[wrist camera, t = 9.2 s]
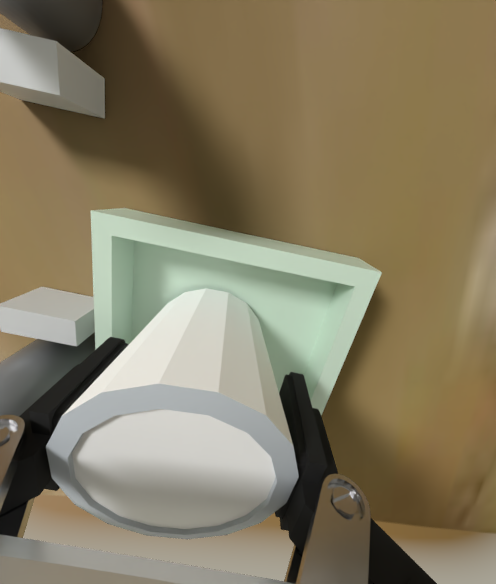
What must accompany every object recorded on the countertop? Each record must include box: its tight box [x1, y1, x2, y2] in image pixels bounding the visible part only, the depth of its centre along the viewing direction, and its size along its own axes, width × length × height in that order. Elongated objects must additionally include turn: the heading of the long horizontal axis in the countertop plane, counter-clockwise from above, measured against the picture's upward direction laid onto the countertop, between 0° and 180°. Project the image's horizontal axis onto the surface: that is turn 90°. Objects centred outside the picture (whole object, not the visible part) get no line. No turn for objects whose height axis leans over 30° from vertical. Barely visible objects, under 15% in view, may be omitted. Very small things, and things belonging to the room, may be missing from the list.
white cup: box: [46, 288, 299, 539], centre depth 10 cm, size 7×7×7 cm
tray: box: [91, 208, 382, 415], centre depth 13 cm, size 12×12×2 cm
